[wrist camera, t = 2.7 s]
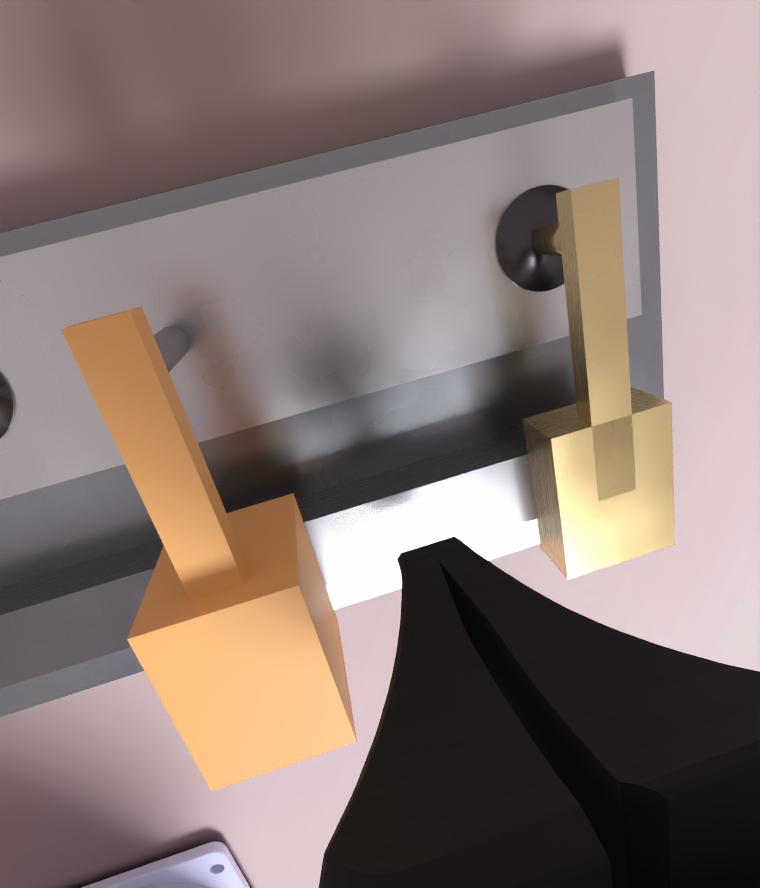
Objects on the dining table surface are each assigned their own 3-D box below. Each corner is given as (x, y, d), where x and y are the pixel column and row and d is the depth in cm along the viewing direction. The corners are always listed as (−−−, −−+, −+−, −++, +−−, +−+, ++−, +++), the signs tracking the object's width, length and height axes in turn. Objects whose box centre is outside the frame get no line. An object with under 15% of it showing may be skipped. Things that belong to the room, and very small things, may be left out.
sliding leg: (334, 603, 15) (356, 741, 11) (230, 637, 14) (211, 791, 10) (223, 279, 11) (191, 295, 7) (84, 315, 11) (-31, 354, 7)
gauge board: (646, 489, 18) (742, 552, 14) (-246, 773, 16) (-410, 936, 12) (628, 83, 13) (761, 19, 10) (-640, 398, 11) (-1106, 474, 7)
